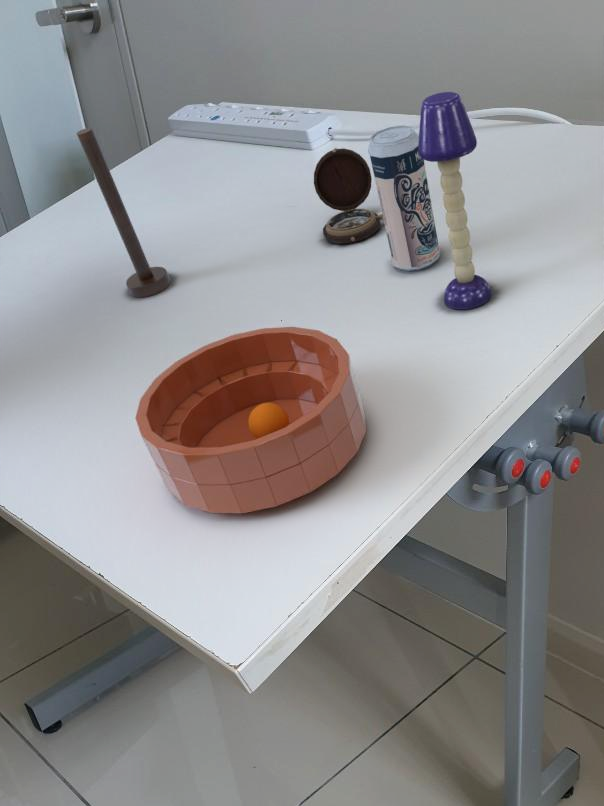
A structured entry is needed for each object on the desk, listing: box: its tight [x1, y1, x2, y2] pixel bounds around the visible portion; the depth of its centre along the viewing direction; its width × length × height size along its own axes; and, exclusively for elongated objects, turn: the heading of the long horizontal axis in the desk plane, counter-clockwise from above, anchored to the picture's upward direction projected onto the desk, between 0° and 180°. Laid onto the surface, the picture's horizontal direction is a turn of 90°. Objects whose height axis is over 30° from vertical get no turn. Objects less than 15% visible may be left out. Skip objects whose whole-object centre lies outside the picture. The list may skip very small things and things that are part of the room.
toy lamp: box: [418, 91, 493, 310], centre depth 72 cm, size 5×5×17 cm
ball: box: [248, 403, 289, 439], centre depth 65 cm, size 3×3×3 cm
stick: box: [76, 127, 171, 298], centre depth 87 cm, size 4×4×16 cm
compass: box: [313, 147, 384, 245], centre depth 90 cm, size 8×8×7 cm
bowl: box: [135, 326, 367, 514], centre depth 64 cm, size 16×16×6 cm
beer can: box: [367, 125, 441, 272], centre depth 80 cm, size 5×5×12 cm
